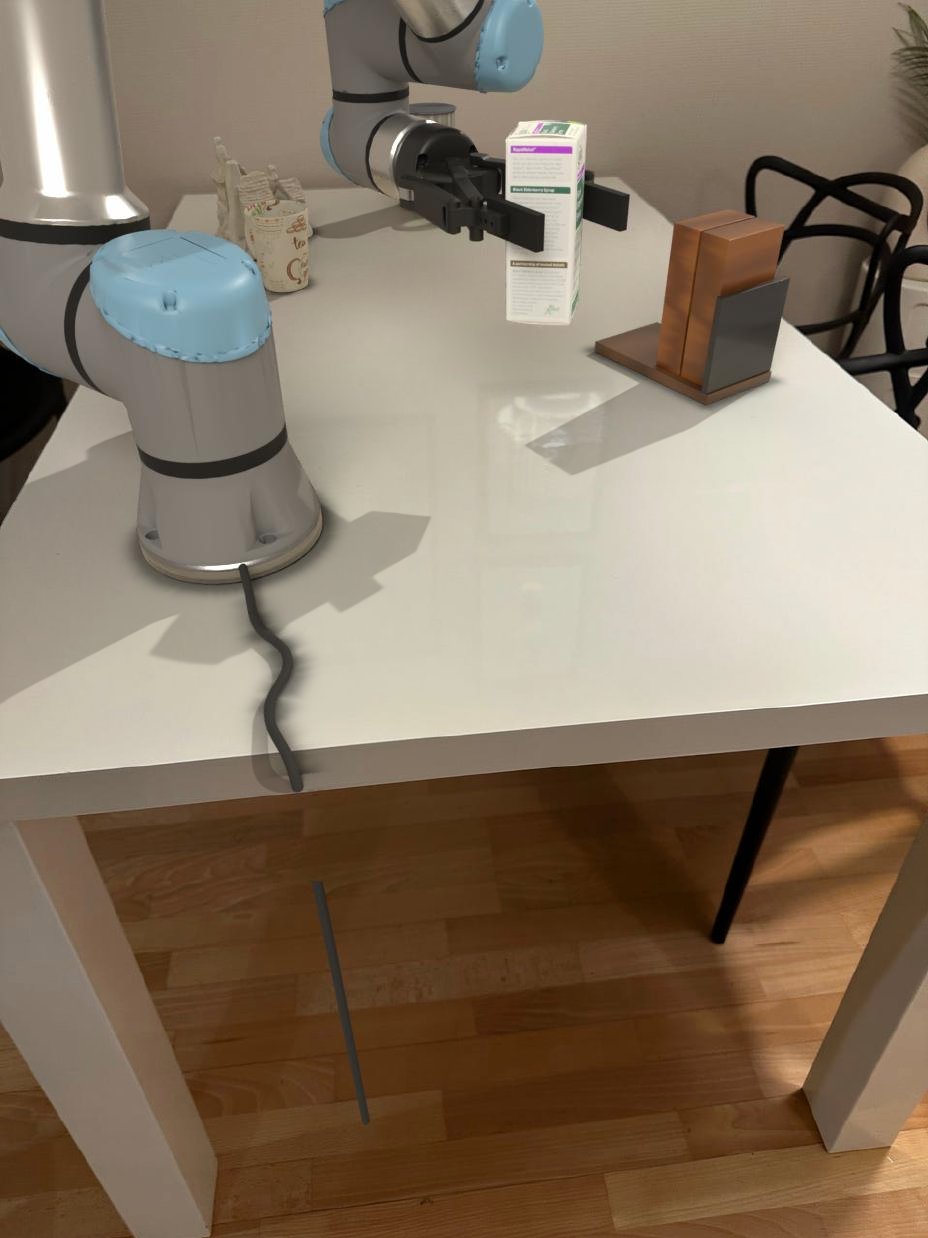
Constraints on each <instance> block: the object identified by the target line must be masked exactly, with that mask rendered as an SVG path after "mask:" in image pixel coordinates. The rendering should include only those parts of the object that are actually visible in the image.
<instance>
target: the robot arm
mask: <svg viewBox="0 0 928 1238" xmlns="http://www.w3.org/2000/svg"><path fill="white" fill-rule="evenodd" d="M106 13H107V12H106V3H105V0H0V165H1V172H2V176H3V178H2V179H3V180H2V183H1V186H0V342H2V343H3V344H4V345H5V346H6V347H7V348H8V349H10V350H11V351H12V352H13V353H14V354H16V355H17V356H18V357H21V358H22V359H23V360H25V361H26V362H27V363H29V364H30V365H33V366H35V367H36V368H38V369H39V370H40V371H42V372H44V373H46V374H49V375H52V376H54V377H58V378H61V379H66V380H68V381H71V382H74V383H76V384H77V385H80V386H82V387H85V388H88V389H89V390H92V391H94V392H97V393H99V394H101V395H104V396H106V397H108V398H111V399H113V400H114V401H118V402H119V403H122V404H123V405H124V408H125V409H126V412H127V416H128V419H129V424H130V427H131V431H132V434H133V438H134V442H135V444H136V449H137V452H138V456H139V459H140V464H141V470H140V480H139V489H138V490H139V491H138V503H137V512H136V513H137V514H136V528H135V529H136V530H135V531H136V535H137V539H138V543H139V545H140V549H141V553H142V555H143V557H144V559H145V561H146V562H147V563H148V564H149V566H151V567H152V568H153V569H154V570H156V571H157V572H159V573H161V574H163V575H165V576H167V577H169V578H172V579H175V580H178V581H183V582H187V583H195V584H205V585H207V584H208V585H216V584H217V585H220V584H231V583H238V582H241V585H242V589H243V592H244V598H245V605H246V611H247V615H248V619H249V623H250V624H251V626H252V628H253V629H254V631H255V632H256V633H257V634H258V635H259V636H260V637H261V638H262V639H263V640H264V641H265V642H267V643H268V644H269V645H271V646H272V647H273V648H275V650H277V651H278V653H279V654H280V656H281V659H282V666H281V670H280V672H279V674H278V676H277V678H276V679H275V681H274V683H273V684H272V686H271V688H270V689H269V691H268V693H267V695H266V698H265V701H264V705H263V720H264V725H265V728H266V732H267V733H268V736H269V738H270V740H271V741H272V743H273V744H274V747H275V749H276V750H277V752H278V753H279V755H280V758H281V759H282V762H283V764H284V767H285V770H286V772H287V776H288V779H289V783H290V786H291V789H292V791H293V792H294V793H297V794H298V793H301V792H302V791H303V790H304V784H303V780H302V777H301V772H300V769H299V766H298V764H297V761H296V757H295V755H294V754H293V751H292V749H291V748H290V746H289V743H288V742H287V740H286V739H285V737H284V735H283V734H282V732H281V731H280V728H279V726H278V723H277V721H276V704H277V701H278V698H279V696H280V695H281V693H282V691H283V689H284V688H285V686H286V685H287V683H288V681H289V679H290V677H291V675H292V672H293V667H294V661H293V660H294V659H293V655H292V652H291V649H290V648H289V646H288V645H287V644H286V643H285V642H284V641H283V640H282V639H281V638H279V637H278V636H277V635H275V634H274V633H273V632H271V631H270V629H268V628H267V627H266V626H265V625H264V623H263V622H262V620H261V617H260V616H259V613H258V610H257V602H256V598H255V592H254V588H253V584H252V580H253V579H257V578H260V577H264V576H267V575H270V574H272V573H273V574H274V573H275V572H277V571H280V570H281V569H284V568H286V567H288V566H290V565H291V564H293V563H295V562H296V561H298V560H299V559H301V558H302V557H303V556H304V555H305V554H307V553H308V552H309V551H310V550H311V549H312V548H313V546H314V545H315V544H316V543H317V541H318V540H319V538H320V536H321V533H322V529H323V515H322V507H321V501H320V497H319V496H318V493H317V492H316V489H315V488H314V485H313V484H312V481H311V480H310V478H309V476H308V474H307V473H306V471H305V468H304V466H303V465H302V464H301V462H300V459H299V458H298V455H297V453H296V452H295V450H294V448H293V446H292V445H291V443H290V439H289V435H288V429H287V423H286V415H285V407H284V400H283V395H282V394H283V393H282V386H281V379H280V371H279V364H278V358H277V351H276V343H275V342H276V341H275V336H274V328H273V320H272V316H273V315H272V313H273V312H272V308H271V305H270V302H269V300H268V298H267V293H266V288H265V286H264V283H263V280H262V276H261V273H260V269H259V266H258V264H257V263H256V262H255V261H254V260H253V259H252V258H251V257H250V255H249V254H248V253H246V252H245V251H244V250H243V249H242V248H240V247H239V246H237V245H236V244H234V243H232V242H230V241H228V240H225V239H223V238H220V237H217V236H215V234H211V233H207V232H202V231H196V230H188V231H185V232H179V231H177V230H176V229H173V228H172V229H171V228H160V229H152V226H151V218H150V217H151V216H150V209H149V208H148V206H147V205H146V204H145V203H144V202H143V201H142V200H141V199H140V198H139V197H138V196H137V195H136V194H135V193H134V192H133V191H132V190H130V188H129V187H128V185H127V183H126V174H125V167H124V166H125V165H124V158H123V149H122V141H121V133H120V124H119V123H120V122H119V116H118V108H117V107H118V106H117V98H116V89H115V81H114V73H113V64H112V56H111V47H110V38H109V30H108V21H107V14H106ZM322 17H323V20H324V27H325V37H326V45H327V55H328V61H329V63H328V64H329V70H330V82H331V87H332V88H331V91H332V97H331V100H332V101H331V102H332V105H331V107H329V109H328V110H327V111H326V113H325V114H324V117H323V121H322V123H321V127H320V131H319V144H320V149H321V152H322V156H323V157H324V159H325V161H326V163H327V165H328V166H329V167H330V168H331V169H332V170H333V171H334V172H335V173H337V174H338V175H340V176H341V177H344V179H346V180H347V181H349V182H350V183H352V184H354V185H356V186H360V187H362V188H364V189H365V188H366V189H369V190H372V191H374V192H377V193H380V194H381V195H384V196H387V197H389V198H391V199H394V200H396V201H398V203H399V208H401V209H404V210H408V211H411V212H414V213H416V214H417V215H419V216H420V217H422V218H424V219H425V220H426V221H428V222H430V223H431V224H432V225H434V226H435V227H437V228H439V229H440V230H442V231H443V232H445V233H446V234H448V235H453V236H455V235H457V234H461V233H462V228H467V229H468V234H469V235H468V240H469V241H470V242H474V243H475V242H477V243H478V242H482V241H484V239H485V236H484V235H485V234H484V233H485V232H486V233H487V234H488V235H491V236H494V237H497V238H499V239H501V240H503V241H505V242H506V241H508V242H511V243H513V244H515V245H518V246H520V247H523V248H525V249H528V250H530V251H532V252H535V253H538V252H542V251H544V228H545V214H544V213H541V212H538V211H535V210H533V209H530V208H527V207H524V206H522V205H519V204H516V203H514V202H511V201H508V200H506V158H497V157H493V156H491V155H490V154H489V153H482V152H479V151H478V149H477V146H476V145H475V143H474V142H473V140H472V139H471V138H470V136H469V135H468V134H467V133H465V132H464V131H462V130H460V129H459V128H456V127H455V128H452V127H449V126H446V125H442V124H439V123H436V122H434V121H431V120H428V119H424V118H420V117H417V116H413V115H410V112H409V104H410V84H409V83H414V84H422V85H431V86H436V87H437V86H438V87H446V88H453V89H460V90H466V91H474V92H479V93H480V94H484V95H485V94H489V93H509V94H510V93H511V94H512V93H517V92H519V91H521V90H523V89H524V88H525V87H526V86H527V85H528V84H529V83H530V82H531V80H532V79H533V77H534V76H535V74H536V71H537V67H538V65H539V64H540V62H541V58H542V55H543V50H544V39H545V30H544V27H545V26H544V20H543V14H542V11H541V9H540V6H539V5H538V2H537V1H536V0H323V10H322ZM595 174H596V172H595V171H593V170H591V169H585V179H584V201H583V220H585V221H588V222H591V223H592V224H593V223H594V224H596V225H599V226H601V227H605V228H607V229H610V230H613V231H616V232H619V233H621V232H626V231H627V229H628V219H629V210H630V209H629V207H630V200H631V199H630V198H631V194H629V193H626V192H623V191H620V190H617V189H614V188H611V187H607V186H605V185H601V184H597V183H595V177H596V175H595ZM484 203H486V204H484ZM484 231H485V232H484ZM310 882H311V885H312V890H313V895H314V900H315V904H316V909H317V915H318V919H319V923H320V928H321V932H322V937H323V942H324V947H325V951H326V956H327V961H328V965H329V971H330V975H331V981H332V984H333V990H334V994H335V998H336V1003H337V1009H338V1014H339V1018H340V1023H341V1027H342V1033H343V1037H344V1041H345V1046H346V1051H347V1056H348V1062H349V1066H350V1071H351V1075H352V1076H351V1077H352V1079H353V1086H354V1090H355V1095H356V1100H357V1105H358V1109H359V1113H360V1117H361V1122H362V1125H364V1126H368V1125H369V1124H370V1122H371V1119H370V1113H369V1110H368V1109H369V1108H368V1104H367V1098H366V1094H365V1088H364V1083H363V1078H362V1073H361V1072H362V1071H361V1067H360V1063H359V1058H358V1052H357V1048H356V1041H355V1038H354V1037H355V1036H354V1032H353V1026H352V1021H351V1017H350V1011H349V1006H348V1001H347V996H346V991H345V985H344V980H343V975H342V971H341V965H340V960H339V955H338V950H337V945H336V941H335V936H334V931H333V925H332V921H331V916H330V910H329V906H328V902H327V895H326V891H325V885H324V882H323V881H317V880H311V881H310Z"/></svg>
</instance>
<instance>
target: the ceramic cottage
mask: <svg viewBox="0 0 928 1238" xmlns="http://www.w3.org/2000/svg"><path fill="white" fill-rule="evenodd" d="M212 141H213V144H214V146H215V149H214V157H215V159H216V165H215V167H214V169H213V170H212V171H211V176H210V177H211V181H212V182H213V183H214V185H215V190H216V195H217V202H216V205H217V211H216V214H217V221H218V223H219V226H218V227H217V228H218V229H217V231H216V233H214V236H217V237H220V238H223V239H225V240H228V241H230V242H232V243H234V244H236V245H237V246H239V247H240V248H242V249H243V250H244V251H245V252H246V253H248V254H249V255H250V257H251V258H252V259H253V260H255V261H257V259H256V258H255V257H254V255H253V254H252V253H251V251H250V249H249V247H248V245H247V242H246V238H245V222H246V220H245V216H244V210H245V209H246V208H247V207H248V206H250V205H253V204H256V203H260V202H266V201H275V200H289V201H297V202H301V203H304V204H305V205H306V206H307V203H306V200H307V198H306V195H305V192H304V189H303V188H302V185H301V183H300V181H299V179H298V178H297V177H291V178H288V179H279V175H278V172H277V167H276V165H274V164H270V165H268V166H267V175H266V173H265V172H264V171H262V172H260V171H259V170H258V171H257V170H255V171H251V172H248V170H247V168H246V167H244V166H242V165H241V164H240V162H238V161H237V160H236V159H235V158H234V157H233V156H231V155H228V154H227V151H226V147H225V146H224V144H223V140H222V138H221V137H220V136H215V137H213V138H212ZM313 234H314V231H313V227H312V226H311V224H310V223H308V238H310V237H312V236H313Z"/></svg>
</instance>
